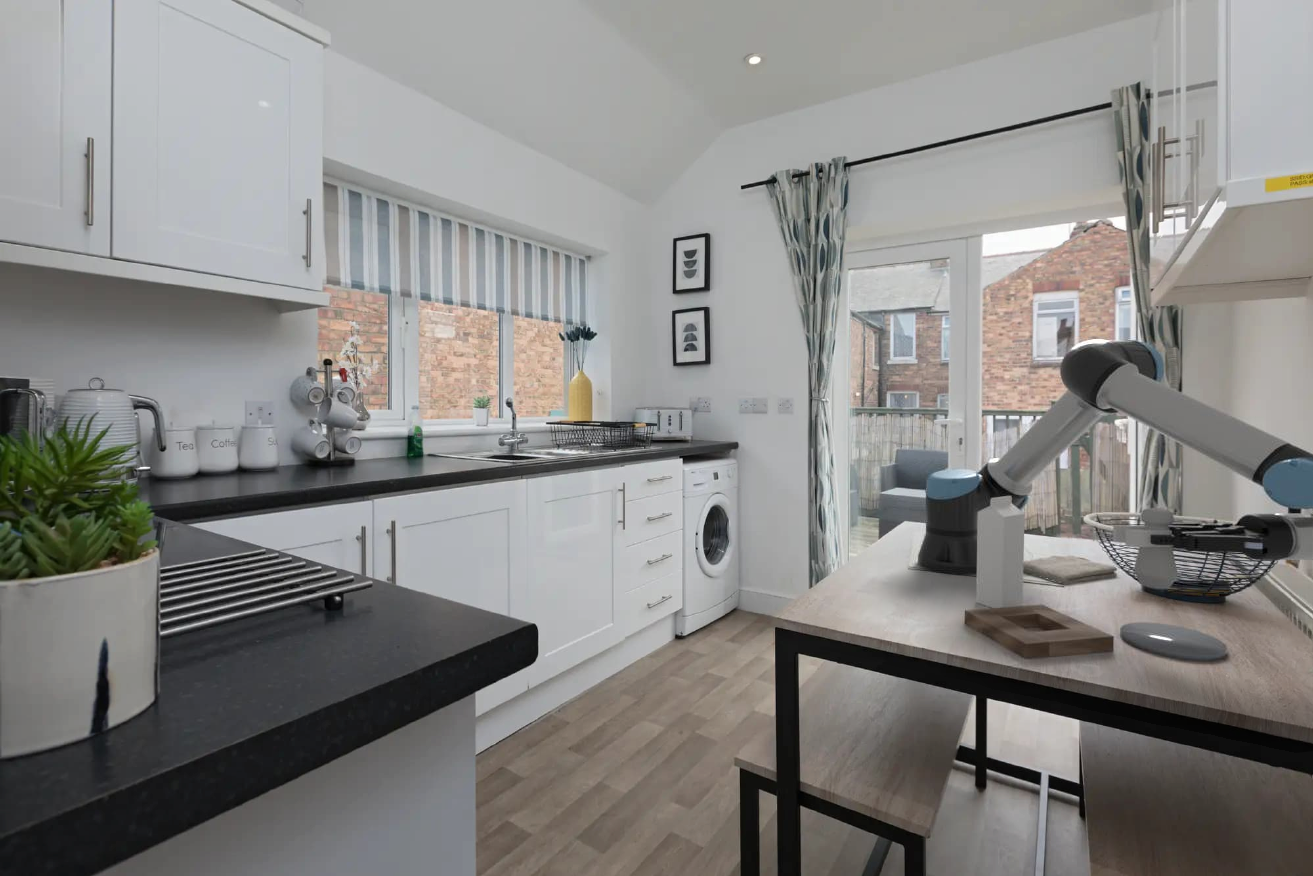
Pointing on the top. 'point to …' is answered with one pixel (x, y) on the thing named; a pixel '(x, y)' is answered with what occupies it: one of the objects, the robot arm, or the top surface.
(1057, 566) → the washcloth
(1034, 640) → the socket block
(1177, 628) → the coaster
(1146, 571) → the salt shaker
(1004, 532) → the milk
